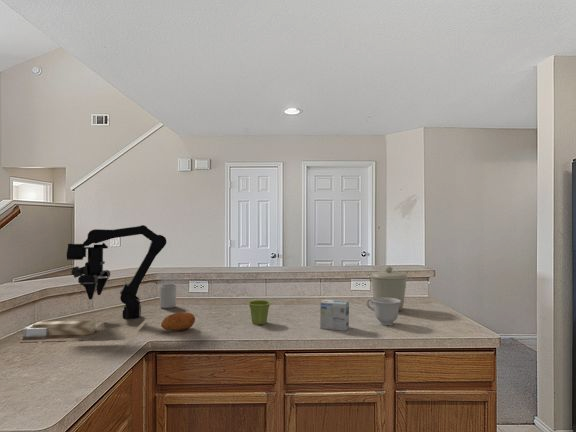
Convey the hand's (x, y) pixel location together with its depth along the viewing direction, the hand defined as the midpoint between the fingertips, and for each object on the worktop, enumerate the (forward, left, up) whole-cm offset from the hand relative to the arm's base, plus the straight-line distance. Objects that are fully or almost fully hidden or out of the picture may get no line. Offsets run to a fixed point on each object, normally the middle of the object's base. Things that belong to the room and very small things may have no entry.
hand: (94, 297), depth 161 cm
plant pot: (-68, +5, -11) cm, 69 cm away
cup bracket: (+12, +19, -10) cm, 24 cm away
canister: (-132, -15, -11) cm, 133 cm away
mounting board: (+5, +13, -11) cm, 18 cm away
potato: (-36, +13, -11) cm, 40 cm away
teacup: (-120, +10, -11) cm, 121 cm away
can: (-24, -29, -11) cm, 39 cm away
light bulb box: (-98, +15, -11) cm, 100 cm away
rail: (+3, +19, -10) cm, 22 cm away
